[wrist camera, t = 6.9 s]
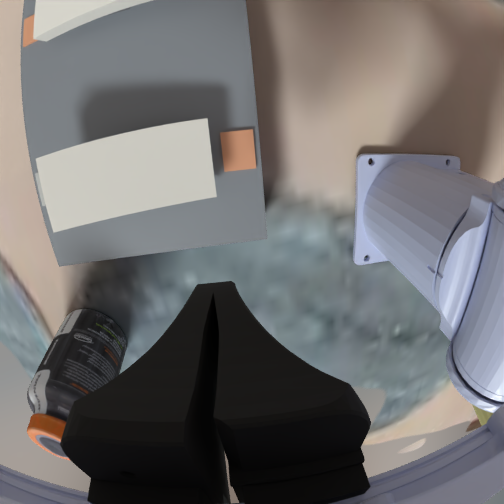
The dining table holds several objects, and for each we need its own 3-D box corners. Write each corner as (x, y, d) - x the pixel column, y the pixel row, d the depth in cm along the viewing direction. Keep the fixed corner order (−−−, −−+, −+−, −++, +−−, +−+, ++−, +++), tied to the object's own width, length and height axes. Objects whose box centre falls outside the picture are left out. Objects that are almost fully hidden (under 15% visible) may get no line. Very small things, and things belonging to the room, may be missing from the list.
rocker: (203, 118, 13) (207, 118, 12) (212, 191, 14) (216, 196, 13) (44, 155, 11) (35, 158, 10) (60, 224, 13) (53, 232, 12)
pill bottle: (54, 308, 21) (-5, 412, 10) (114, 303, 21) (66, 428, 11) (80, 359, 23) (45, 461, 13) (136, 359, 24) (113, 474, 13)
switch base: (232, -60, 11) (236, -88, 7) (260, 220, 19) (269, 243, 16) (48, -13, 10) (23, -27, 7) (76, 246, 19) (55, 271, 15)
